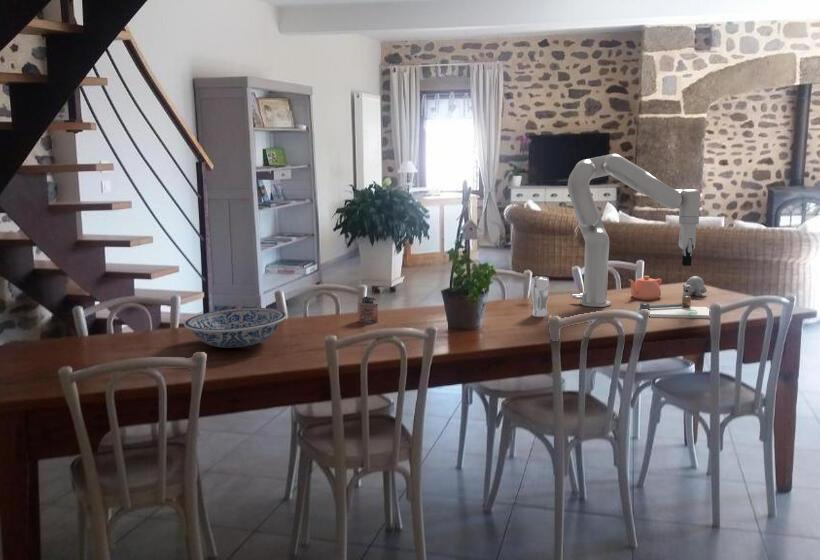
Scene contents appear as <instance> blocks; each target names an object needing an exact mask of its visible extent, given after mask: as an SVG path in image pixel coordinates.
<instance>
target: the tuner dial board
mask: <svg viewBox="0 0 820 560" xmlns="http://www.w3.org/2000/svg"><path fill="white" fill-rule="evenodd" d="M638 308H639V310H640V305H639V307H638ZM649 310H650V317H649V318H670V319H672V318H674V319H675V318H677V319H678V318H679V319H710V318H709V310H710V308H709V307H707V306H690V307H669V308H652V309H649Z"/></svg>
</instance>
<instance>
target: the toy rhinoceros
mask: <svg viewBox="0 0 820 560" xmlns="http://www.w3.org/2000/svg"><path fill="white" fill-rule="evenodd" d="M682 287H683V288H682V289H683V291H682V296H690V297H691V296H696V297H697V298H699V297H702V296H703V294H705V293H707V292H708V291H707V288H706V287H705V282H704V280H703V278H702V277H700V276H697V275H693V276H690V277H689V278H688V279H687V281H686V285H685V284H682Z"/></svg>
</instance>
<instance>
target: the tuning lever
mask: <svg viewBox="0 0 820 560" xmlns="http://www.w3.org/2000/svg"><path fill="white" fill-rule="evenodd" d="M691 301H692V296H691V295H690V296H683V295H682V301H681V303H667V304H653V305H652V304H650V303H648V302H641V303H640V304H639V306H640V309H648V310H649V309H652V308H669V307H692V305H691V303H692V302H691ZM640 309H639V310H640Z"/></svg>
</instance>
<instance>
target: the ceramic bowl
mask: <svg viewBox="0 0 820 560" xmlns="http://www.w3.org/2000/svg"><path fill="white" fill-rule="evenodd" d="M285 319H287V313H286V312H285V311H284V310H280V309H276V308H269V307H243V308H241V307H239V308H230V309H222V310H216V311H210V312H206V313H201V314H198V315H195V316H193V317H190V318H188V319H187V320H185V321H184V323H183V327H184V328H186V329H187V330H190V331H192V333H193V335H195V336H196V338H197V339H198V340H200V341H201V342H202V343H204V344H206V345H209V346H212V347H216V348H222V349H223V348H227V349H229V348H230V349H231V348H242V347H248V346H253V345H256V344H259V343H262V342H264V341H266V340H267V339H268V338H270V337H271V336H272V335H273V334H275V332H276V331H277V329H278V328H279V325H280V324H281V322H283V321H285Z"/></svg>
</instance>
